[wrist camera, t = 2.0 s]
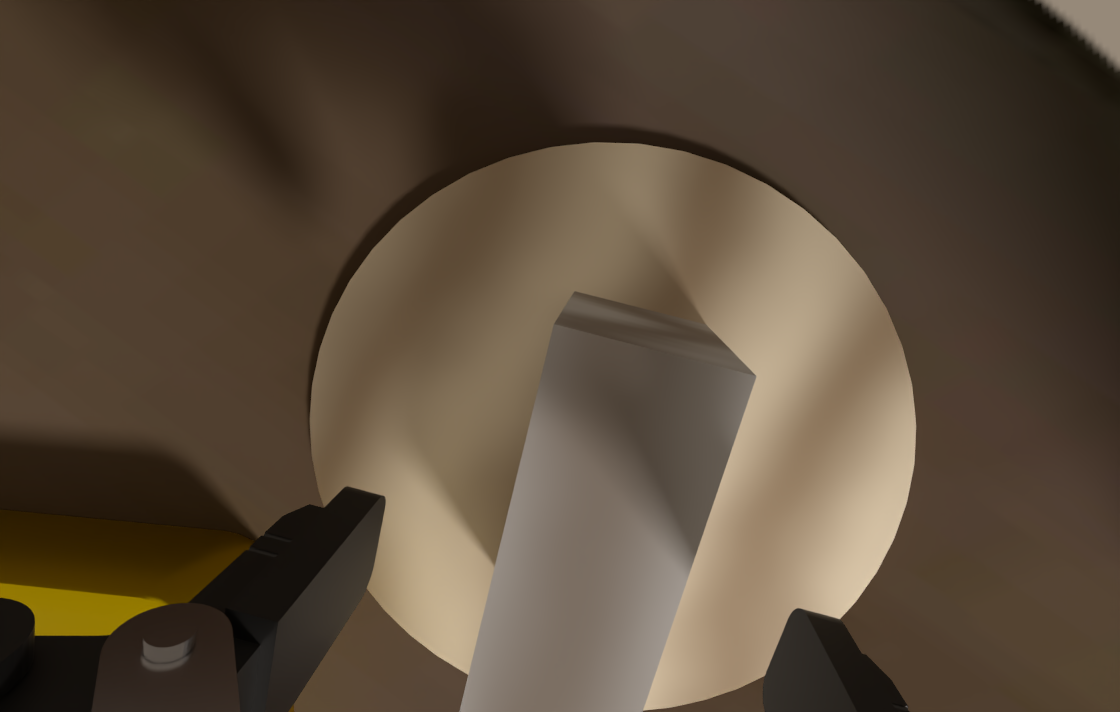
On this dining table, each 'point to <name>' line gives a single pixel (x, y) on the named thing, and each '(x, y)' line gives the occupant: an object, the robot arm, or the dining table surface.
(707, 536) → the lid
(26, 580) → the element tile
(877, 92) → the dining table surface
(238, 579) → the robot arm
